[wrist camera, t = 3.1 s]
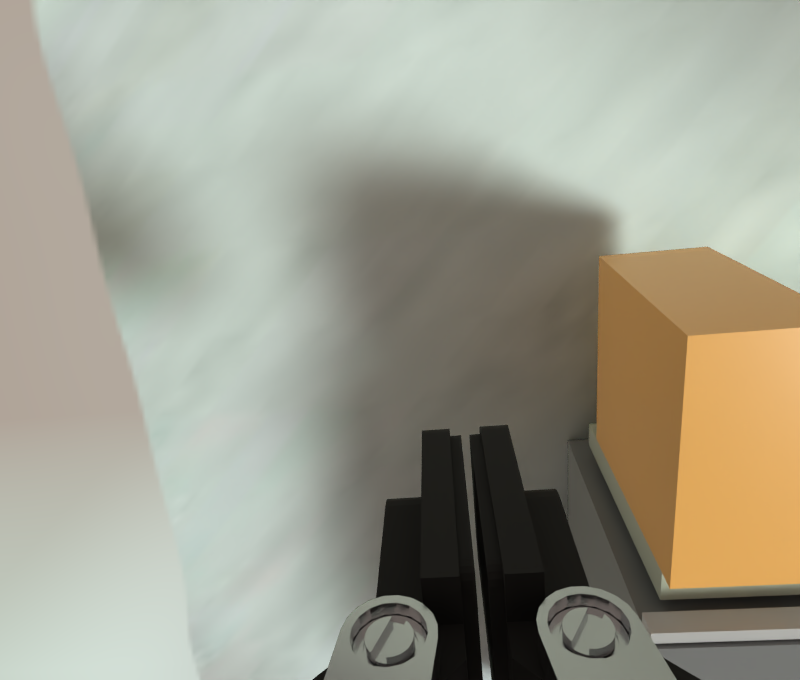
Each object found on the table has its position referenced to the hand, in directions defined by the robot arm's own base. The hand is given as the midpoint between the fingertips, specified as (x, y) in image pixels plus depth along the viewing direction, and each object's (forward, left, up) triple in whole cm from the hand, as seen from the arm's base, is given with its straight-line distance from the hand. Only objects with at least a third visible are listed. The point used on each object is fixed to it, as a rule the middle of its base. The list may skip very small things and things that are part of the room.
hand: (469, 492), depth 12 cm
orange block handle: (-9, +1, -8) cm, 12 cm away
